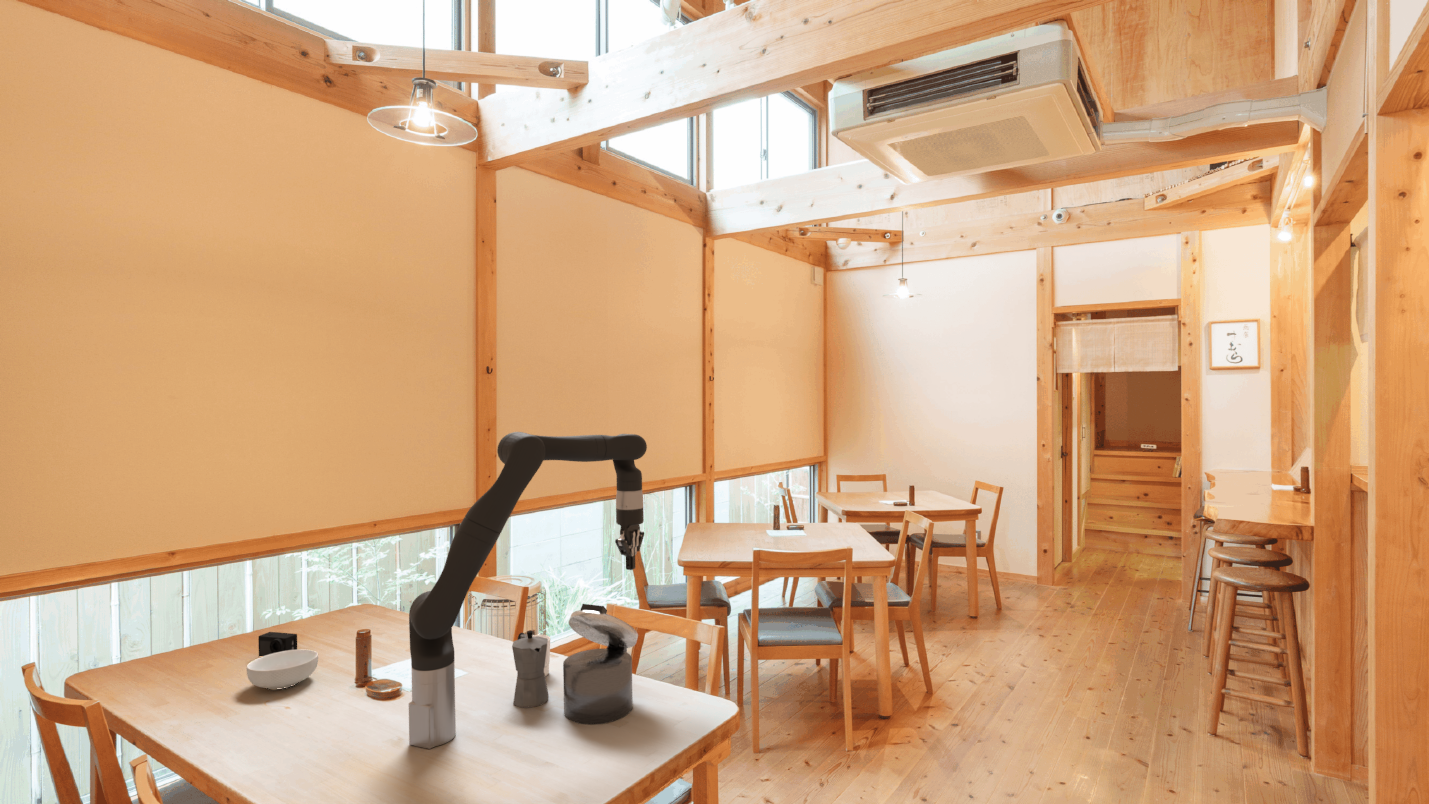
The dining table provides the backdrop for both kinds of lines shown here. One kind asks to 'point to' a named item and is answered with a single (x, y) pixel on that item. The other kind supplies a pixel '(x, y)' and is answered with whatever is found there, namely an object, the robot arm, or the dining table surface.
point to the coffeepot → (530, 670)
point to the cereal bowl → (282, 668)
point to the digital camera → (276, 642)
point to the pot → (598, 685)
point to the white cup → (546, 668)
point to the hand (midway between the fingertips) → (630, 569)
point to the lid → (602, 627)
